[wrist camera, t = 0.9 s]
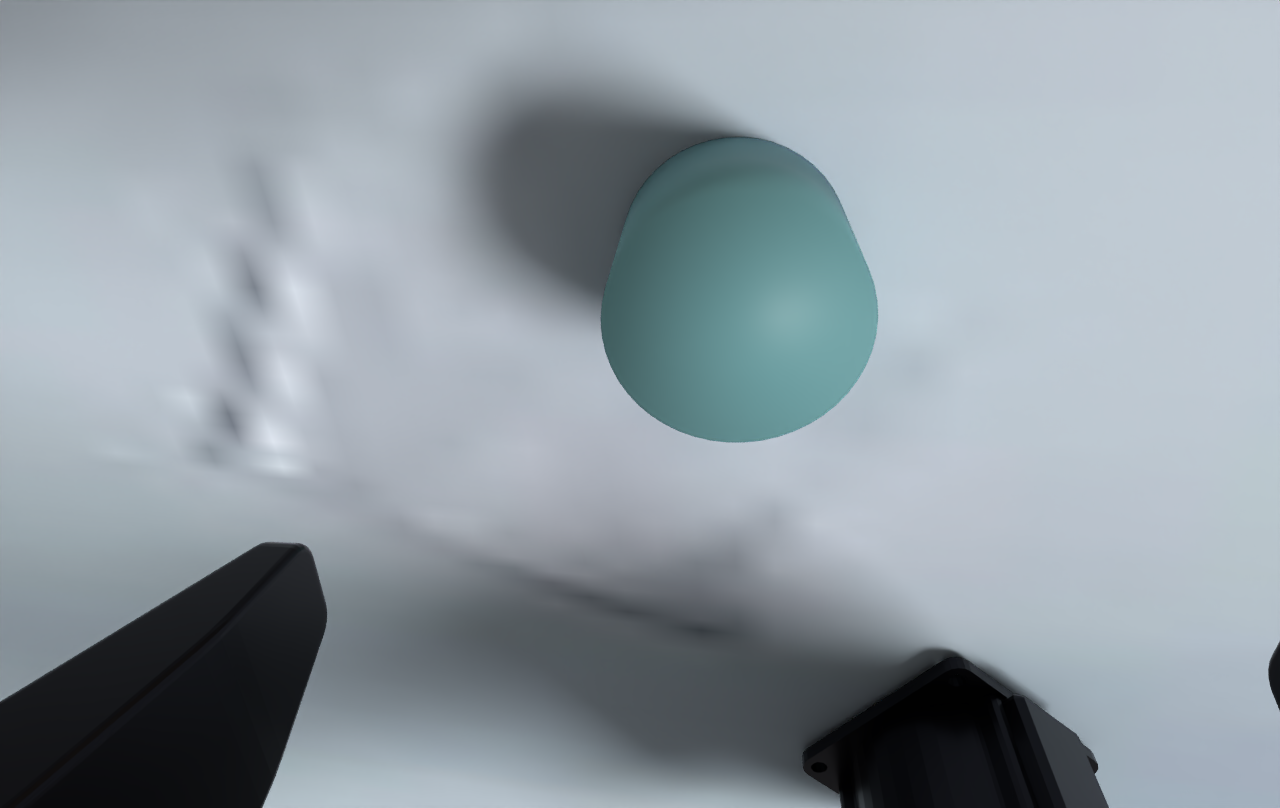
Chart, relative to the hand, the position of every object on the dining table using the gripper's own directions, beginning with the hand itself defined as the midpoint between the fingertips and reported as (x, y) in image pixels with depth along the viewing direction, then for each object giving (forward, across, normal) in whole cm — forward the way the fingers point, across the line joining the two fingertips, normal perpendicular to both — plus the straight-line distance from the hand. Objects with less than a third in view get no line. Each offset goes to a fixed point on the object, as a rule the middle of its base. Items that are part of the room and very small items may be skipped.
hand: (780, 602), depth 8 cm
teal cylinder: (+12, 0, +1) cm, 12 cm away
